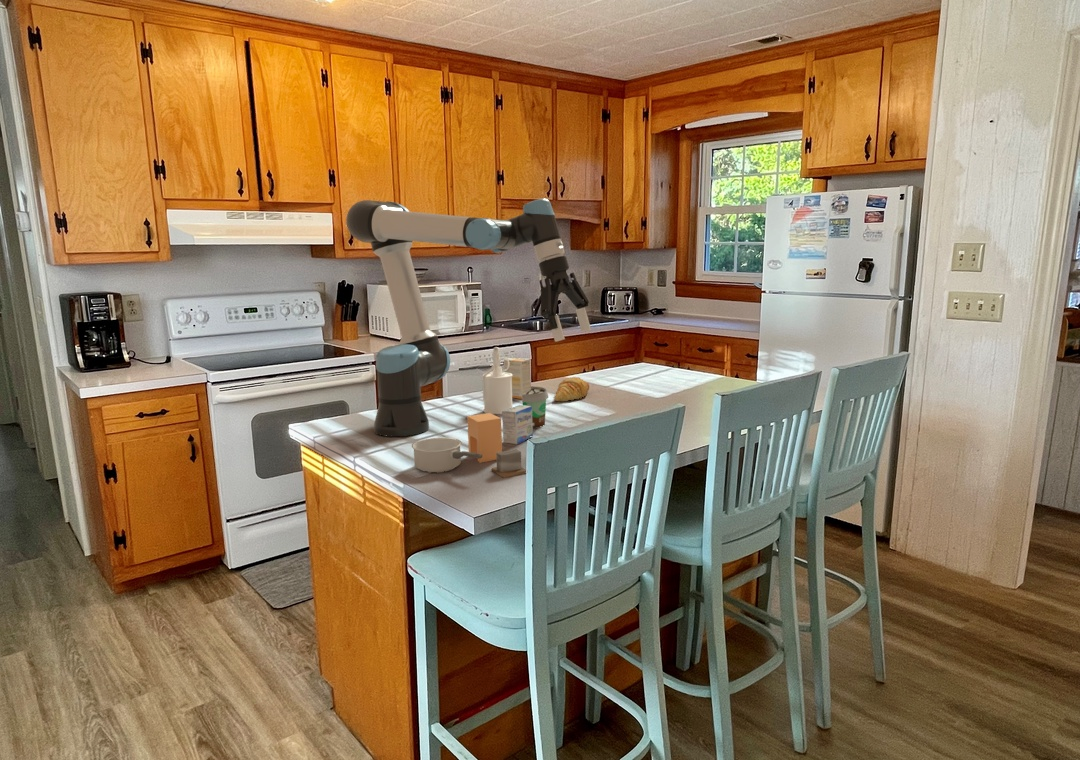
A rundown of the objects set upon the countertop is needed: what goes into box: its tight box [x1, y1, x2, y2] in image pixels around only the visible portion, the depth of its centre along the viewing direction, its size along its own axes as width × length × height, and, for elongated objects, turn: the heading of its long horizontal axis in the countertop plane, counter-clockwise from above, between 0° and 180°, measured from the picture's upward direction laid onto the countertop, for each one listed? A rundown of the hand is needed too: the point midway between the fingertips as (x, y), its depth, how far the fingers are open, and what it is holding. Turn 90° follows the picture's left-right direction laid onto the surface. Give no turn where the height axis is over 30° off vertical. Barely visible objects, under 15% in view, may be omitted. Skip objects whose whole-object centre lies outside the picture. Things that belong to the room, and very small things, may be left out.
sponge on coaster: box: [491, 448, 527, 479], centre depth 154 cm, size 6×6×5 cm
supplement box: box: [503, 357, 532, 400], centre depth 231 cm, size 8×5×13 cm, turn 49°
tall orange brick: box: [466, 413, 503, 463], centre depth 165 cm, size 6×6×10 cm
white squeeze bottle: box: [481, 346, 514, 416], centre depth 210 cm, size 10×9×20 cm
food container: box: [521, 385, 549, 429], centre depth 194 cm, size 12×6×10 cm, turn 168°
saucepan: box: [411, 437, 482, 473], centre depth 156 cm, size 12×20×6 cm, turn 50°
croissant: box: [554, 376, 590, 402], centre depth 230 cm, size 21×10×8 cm, turn 149°
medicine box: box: [501, 404, 534, 446], centre depth 179 cm, size 8×4×9 cm, turn 148°
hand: (573, 336), depth 183 cm, fingers open, 13 cm apart
